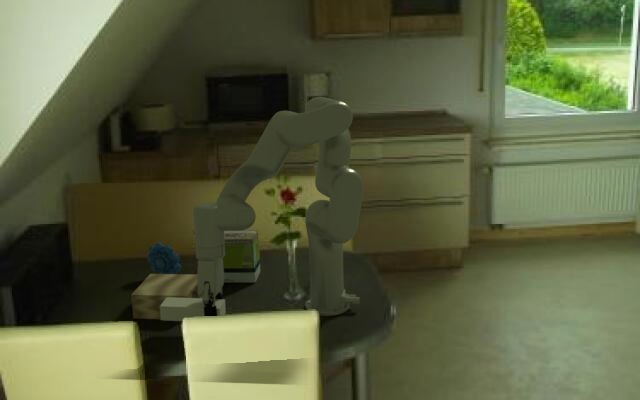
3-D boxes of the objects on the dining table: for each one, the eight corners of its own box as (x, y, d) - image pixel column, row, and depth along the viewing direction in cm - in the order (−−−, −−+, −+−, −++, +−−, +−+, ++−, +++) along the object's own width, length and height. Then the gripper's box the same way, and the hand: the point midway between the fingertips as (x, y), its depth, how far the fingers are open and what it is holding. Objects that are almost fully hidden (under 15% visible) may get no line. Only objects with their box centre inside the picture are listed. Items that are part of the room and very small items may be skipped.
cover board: (225, 313, 189) (225, 299, 188) (220, 322, 184) (219, 308, 183) (167, 310, 191) (166, 297, 190) (160, 320, 185) (159, 306, 184)
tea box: (261, 272, 231) (258, 229, 227) (255, 283, 221) (252, 239, 218) (216, 271, 233) (213, 229, 229) (208, 283, 223) (205, 239, 219)
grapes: (142, 281, 226) (139, 246, 223) (152, 273, 232) (149, 239, 229) (176, 284, 223) (173, 248, 220) (185, 276, 229) (182, 241, 226)
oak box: (203, 296, 212) (202, 274, 210) (188, 319, 197) (186, 295, 195) (152, 296, 214) (150, 273, 212) (133, 318, 199) (131, 294, 197)
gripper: (205, 239, 191) (208, 301, 195) (186, 261, 174) (191, 328, 179) (232, 240, 190) (235, 302, 195) (216, 262, 173) (220, 329, 178)
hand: (214, 314), depth 187 cm, fingers closed on cover board, 6 cm apart
